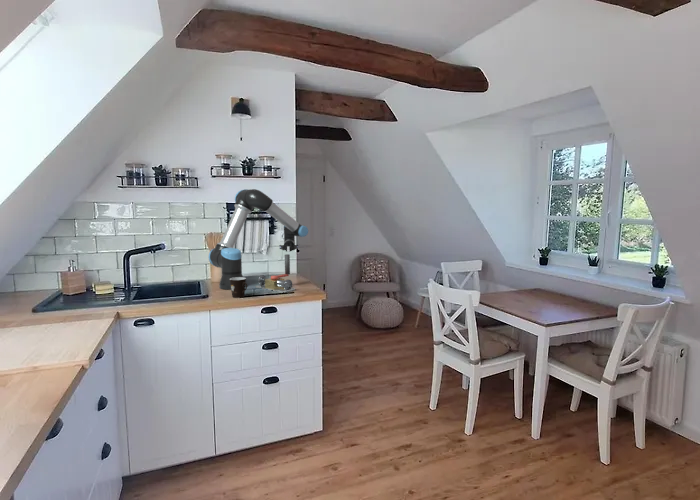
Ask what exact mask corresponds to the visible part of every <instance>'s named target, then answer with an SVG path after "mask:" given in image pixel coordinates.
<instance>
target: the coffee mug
mask: <svg viewBox="0 0 700 500" xmlns="http://www.w3.org/2000/svg"><path fill="white" fill-rule="evenodd" d="M246 280H247V278H246V277H244V276H243V277H235V278H230V285H231V289H230V290H231V297H232V298H234V299H240V298H244V297H245V296H246V295H245V294H246V290H247V288H248V283H247V281H246Z"/></svg>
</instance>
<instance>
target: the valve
mask: <svg viewBox="0 0 700 500" xmlns="http://www.w3.org/2000/svg"><path fill="white" fill-rule="evenodd" d="M257 283H258V285H255V286H254V287H256V289H260V288H262V289H261V290H265V289H268V290H267V291H271V290H273V291H272V292H276V291H277V292H276V293H281V294H282V293H283V292H284V293H286V292H287V291H288V292H292V291H294V290H296V288H293V281H292V280H291V279H286V280H285V278H283V277H281V278H278V279H271V277H266V275H259V276H258V278H257Z"/></svg>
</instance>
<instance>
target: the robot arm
mask: <svg viewBox="0 0 700 500" xmlns="http://www.w3.org/2000/svg"><path fill="white" fill-rule="evenodd" d="M234 202H235V203H234V211H233V212H232V216H231V218H230V220H229V222H228V224H227V227H226V229H225V230H224V233H223V236H222V238H221V239H220V242H217V243H216V245H215V247H214V248H212V249H211V250H210V251H209V253H208V261H209V263H210V264H211V265H212V266H214V268H215V267H216V268H219V269H221V276H220V277H221V278H220V281H219V289H220V290H231V285H230V278H235V277H244V275H243V271H242V270H243V267H242V252H241V249H240V248H234V246H235V244H236V243H237V240H238V238H239V235H240V233H241V230H242V229H243V227H244V224H245V222H246V220H247V218H248V215H251V213H252V212H253V210H254V208H255V209H258V210H260V211H262V212H266V213H267V214H268V215H269V216H271V217H272V218H273V219H275V220H276V221H277V222H279V223H280V224H281V225H282V226H283V241H284V242H283V244H280V245H279V250H282V251H285V252H286V253H289V252H292V251H294V250H298V249H299V244H296V242H295V241H296V240H295V239H296V238H295V237H300V238H303V237H306V236H307V235H308V234H309V228H308V226H305V225H302V224H300V223H299V222H298V221H296V220H295V219H294V218H293V217H292V216H290V215H289V214H288V213H286V212H285V210H283V209H282V208H280V206H278V204H277V205H276V203H274V202H273V199H272V198H271V197H269V196H268V195H267V194H265V193H264V192H263V191H261V190H259V189H254V188H253V189H241V190H239V191H238V192H236V194H235V196H234Z"/></svg>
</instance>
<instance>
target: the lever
mask: <svg viewBox="0 0 700 500" xmlns="http://www.w3.org/2000/svg"><path fill="white" fill-rule="evenodd" d="M290 258H291V256H290V254H284V274H278V275H270V278H271V279H278V278H285V277H289V276H290V274H291V261H290V260H291V259H290Z"/></svg>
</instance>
